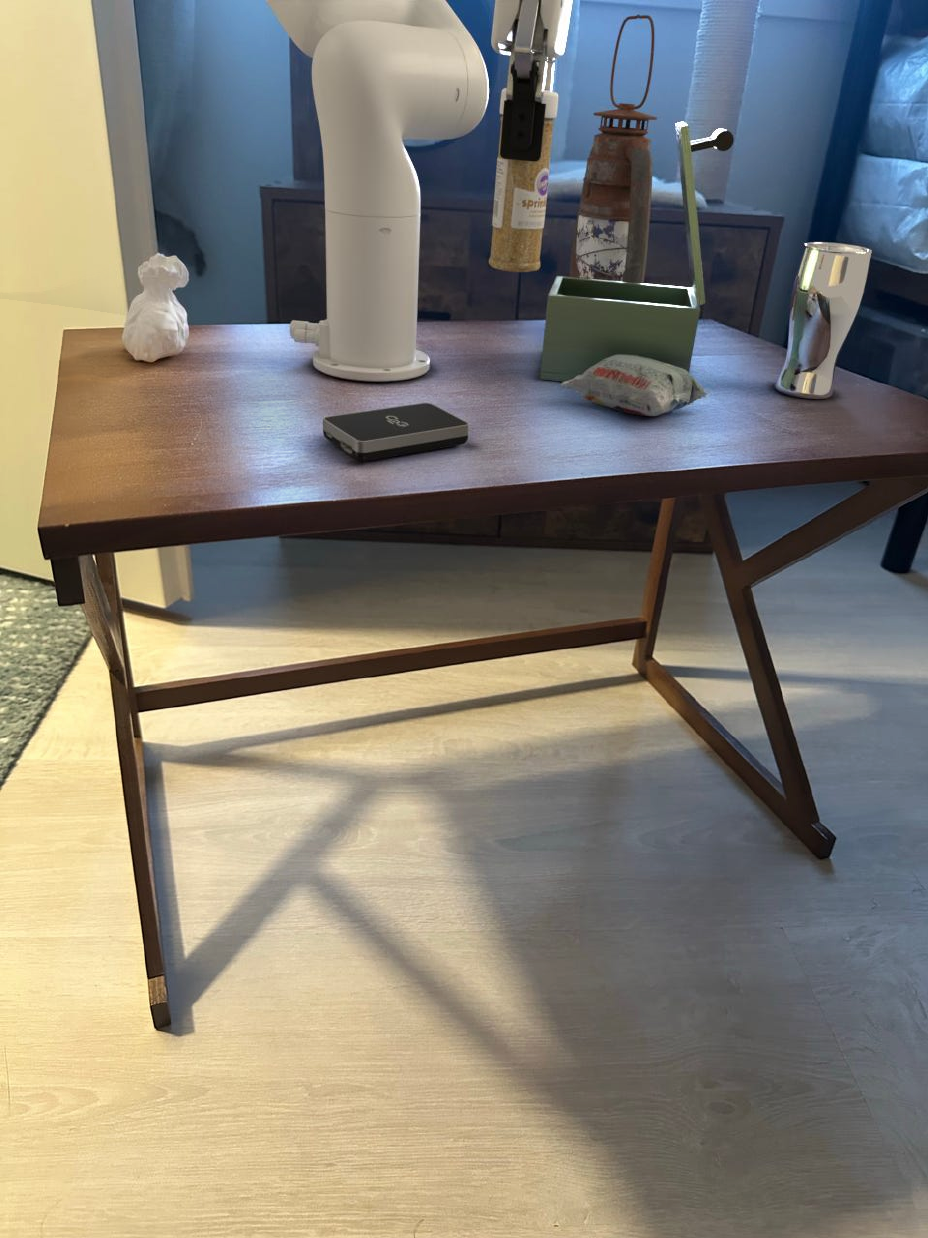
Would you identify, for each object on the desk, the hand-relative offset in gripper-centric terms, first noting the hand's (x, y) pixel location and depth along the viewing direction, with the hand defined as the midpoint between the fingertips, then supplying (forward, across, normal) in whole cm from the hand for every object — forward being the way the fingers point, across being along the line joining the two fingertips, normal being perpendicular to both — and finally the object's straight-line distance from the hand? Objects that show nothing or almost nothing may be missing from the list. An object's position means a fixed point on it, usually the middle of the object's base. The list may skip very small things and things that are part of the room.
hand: (524, 154), depth 75 cm
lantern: (+23, -40, +7) cm, 47 cm away
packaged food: (+23, -8, +12) cm, 27 cm away
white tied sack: (+23, -10, -39) cm, 46 cm away
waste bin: (+23, -22, +10) cm, 33 cm away
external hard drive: (+23, +9, -8) cm, 26 cm away
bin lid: (+6, -22, +15) cm, 27 cm away
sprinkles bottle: (+9, 0, 0) cm, 9 cm away
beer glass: (+23, -22, +31) cm, 44 cm away
